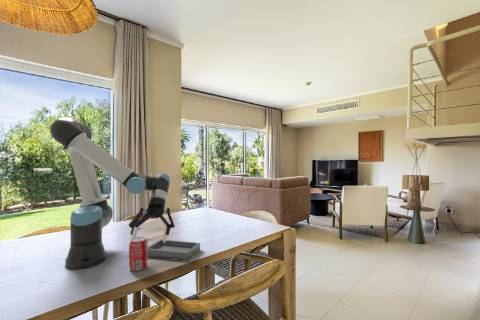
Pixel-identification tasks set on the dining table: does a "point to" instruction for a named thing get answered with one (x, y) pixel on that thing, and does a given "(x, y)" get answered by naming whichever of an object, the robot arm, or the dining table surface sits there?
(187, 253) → the tray
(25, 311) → the dining table surface
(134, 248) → the soda can
